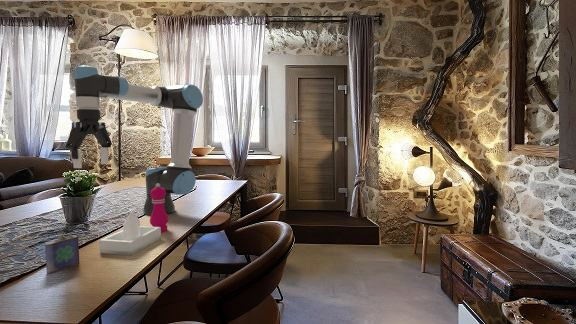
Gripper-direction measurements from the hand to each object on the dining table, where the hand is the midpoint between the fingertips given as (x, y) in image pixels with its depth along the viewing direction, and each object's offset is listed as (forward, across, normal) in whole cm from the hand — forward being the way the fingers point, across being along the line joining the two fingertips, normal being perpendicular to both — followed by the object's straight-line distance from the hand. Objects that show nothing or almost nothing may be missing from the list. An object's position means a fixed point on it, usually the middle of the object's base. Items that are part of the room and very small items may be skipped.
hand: (92, 166), depth 128 cm
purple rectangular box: (+28, +26, +10) cm, 40 cm away
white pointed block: (+27, +4, +18) cm, 33 cm away
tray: (+28, +4, +18) cm, 34 cm away
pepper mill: (+29, -14, +18) cm, 37 cm away
